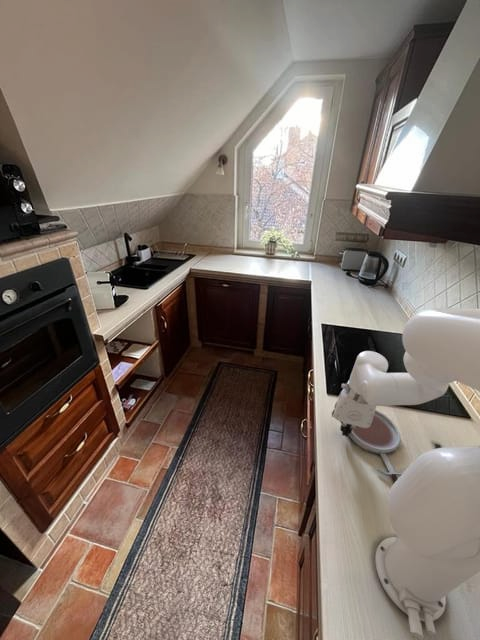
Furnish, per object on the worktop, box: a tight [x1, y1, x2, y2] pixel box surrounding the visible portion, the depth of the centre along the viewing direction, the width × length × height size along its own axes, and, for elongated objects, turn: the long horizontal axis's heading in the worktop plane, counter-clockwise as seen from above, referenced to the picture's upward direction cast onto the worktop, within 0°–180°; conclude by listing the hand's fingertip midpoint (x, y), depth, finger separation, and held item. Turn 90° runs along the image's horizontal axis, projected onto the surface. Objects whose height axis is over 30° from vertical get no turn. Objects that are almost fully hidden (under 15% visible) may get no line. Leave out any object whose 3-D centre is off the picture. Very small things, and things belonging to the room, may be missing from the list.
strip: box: [434, 443, 442, 449], centre depth 75 cm, size 12×2×1 cm, turn 161°
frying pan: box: [348, 409, 407, 483], centre depth 78 cm, size 17×3×28 cm
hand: (344, 432), depth 81 cm, fingers closed
